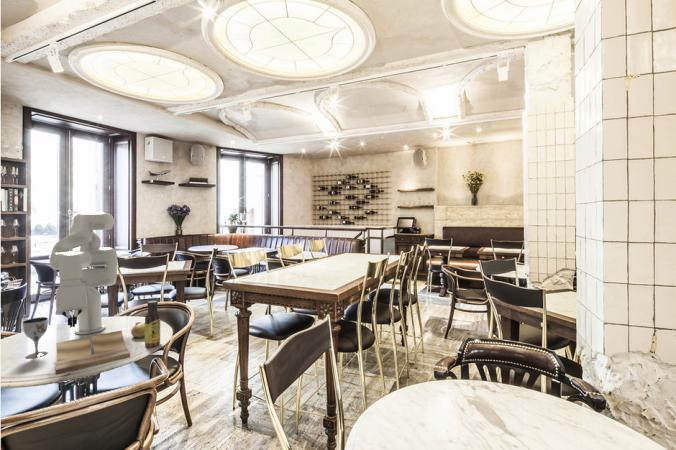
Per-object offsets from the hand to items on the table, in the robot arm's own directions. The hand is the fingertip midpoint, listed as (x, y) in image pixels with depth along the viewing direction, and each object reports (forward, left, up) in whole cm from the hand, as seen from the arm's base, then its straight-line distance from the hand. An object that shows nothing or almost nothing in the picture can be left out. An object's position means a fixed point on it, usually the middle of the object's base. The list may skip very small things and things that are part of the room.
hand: (72, 326), depth 143 cm
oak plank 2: (+2, +12, -10) cm, 16 cm away
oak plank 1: (+2, 0, -10) cm, 10 cm away
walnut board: (+12, +6, -12) cm, 18 cm away
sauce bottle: (+9, +28, -13) cm, 32 cm away
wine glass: (-11, -12, -13) cm, 20 cm away
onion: (-7, +26, -13) cm, 30 cm away
